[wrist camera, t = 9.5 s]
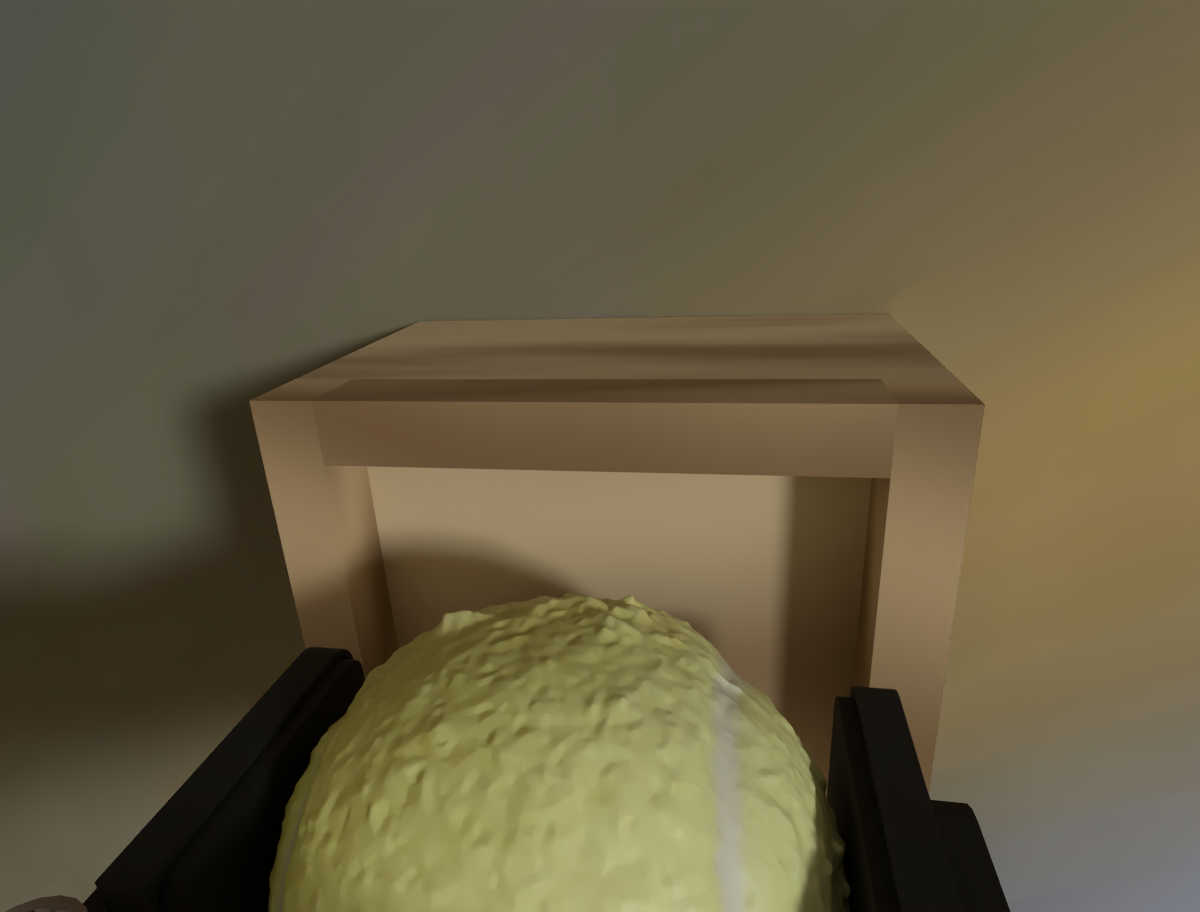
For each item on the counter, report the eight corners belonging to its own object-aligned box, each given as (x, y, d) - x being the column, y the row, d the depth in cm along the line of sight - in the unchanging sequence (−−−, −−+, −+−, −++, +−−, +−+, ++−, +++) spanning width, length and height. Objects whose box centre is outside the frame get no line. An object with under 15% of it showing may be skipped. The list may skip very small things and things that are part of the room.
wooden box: (419, 321, 16) (249, 400, 11) (889, 313, 15) (984, 405, 9) (468, 687, 20) (360, 893, 14) (851, 717, 18) (903, 967, 12)
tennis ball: (242, 1427, 7) (980, 1580, 5) (-35, 843, 6) (778, 772, 4) (487, 901, 13) (872, 884, 11) (372, 560, 12) (778, 479, 10)
